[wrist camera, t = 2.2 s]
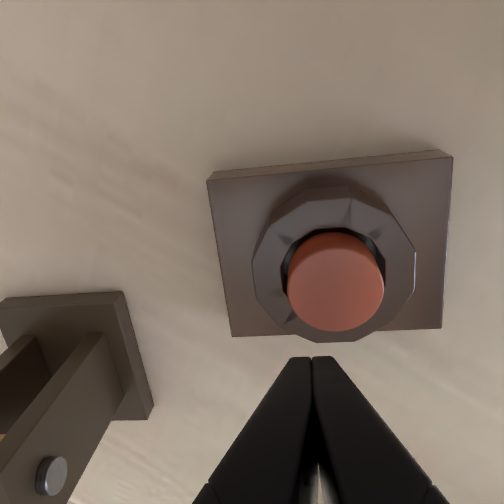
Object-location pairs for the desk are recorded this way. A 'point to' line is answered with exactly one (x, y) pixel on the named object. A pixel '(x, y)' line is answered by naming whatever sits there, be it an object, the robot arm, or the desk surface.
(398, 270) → the button plate
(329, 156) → the desk surface
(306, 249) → the release button
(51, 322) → the lock bracket
